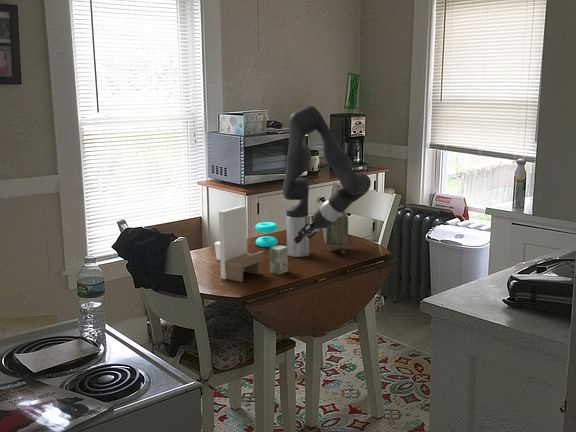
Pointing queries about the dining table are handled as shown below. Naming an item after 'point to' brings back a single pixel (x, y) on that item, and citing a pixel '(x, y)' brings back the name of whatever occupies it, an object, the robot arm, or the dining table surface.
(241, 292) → the dining table surface
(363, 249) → the dining table surface
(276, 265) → the sage cabinet
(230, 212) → the white display stand
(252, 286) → the dining table surface
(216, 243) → the shot glass
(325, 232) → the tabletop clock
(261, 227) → the donuts
